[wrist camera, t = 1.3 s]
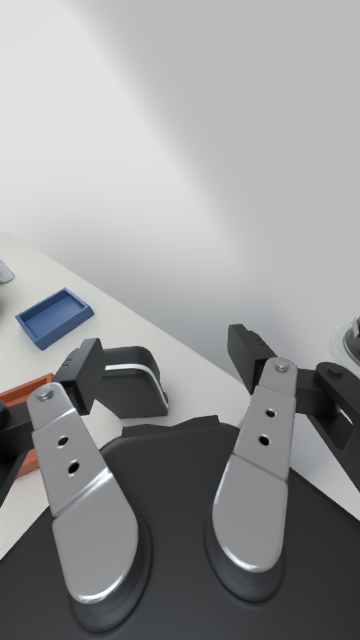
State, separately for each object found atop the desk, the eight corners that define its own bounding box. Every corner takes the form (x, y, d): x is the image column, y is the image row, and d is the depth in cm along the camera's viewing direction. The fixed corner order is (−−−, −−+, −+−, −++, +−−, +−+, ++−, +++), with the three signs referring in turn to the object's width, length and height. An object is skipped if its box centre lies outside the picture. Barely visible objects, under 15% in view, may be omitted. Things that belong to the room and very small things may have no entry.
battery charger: (170, 387, 28) (150, 337, 19) (170, 416, 25) (146, 373, 17) (122, 391, 28) (83, 344, 20) (117, 419, 26) (69, 379, 17)
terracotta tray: (60, 379, 31) (51, 372, 29) (58, 458, 24) (46, 454, 22) (-18, 412, 29) (-32, 406, 27) (-46, 508, 22) (-68, 509, 20)
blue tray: (94, 313, 41) (89, 305, 39) (42, 350, 36) (33, 343, 34) (70, 294, 47) (65, 287, 45) (22, 324, 42) (14, 316, 40)
